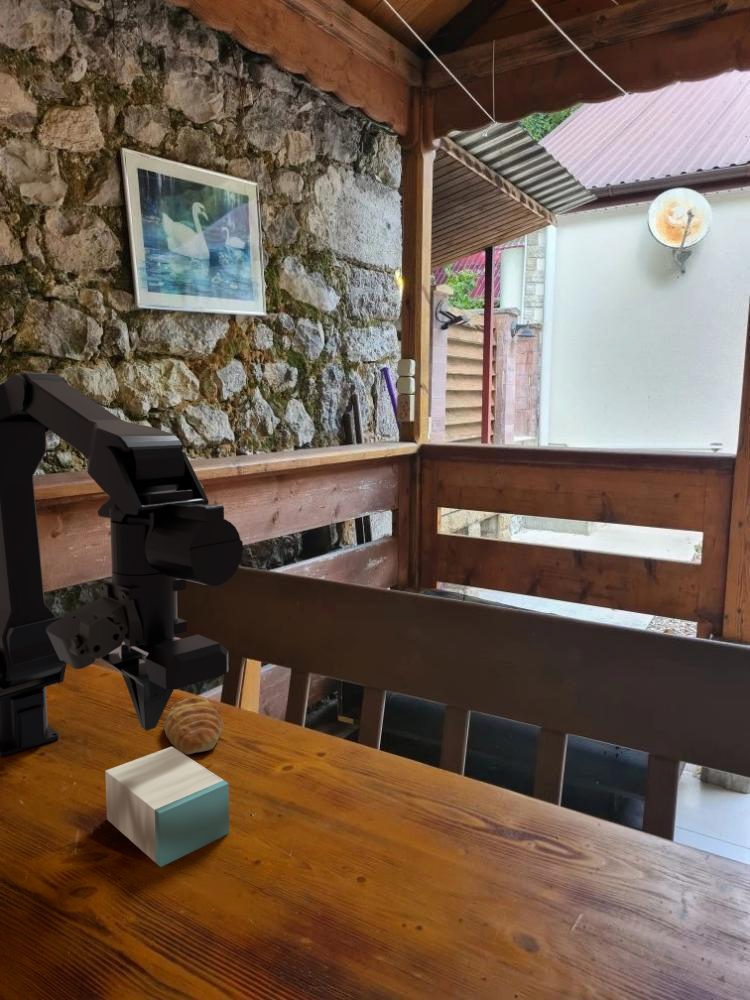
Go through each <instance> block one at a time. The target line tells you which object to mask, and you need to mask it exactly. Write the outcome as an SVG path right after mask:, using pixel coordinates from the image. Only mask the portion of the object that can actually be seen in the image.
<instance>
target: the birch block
mask: <svg viewBox="0 0 750 1000" xmlns="http://www.w3.org/2000/svg"><path fill="white" fill-rule="evenodd" d="M104 772H105V800H106V801H105V802H106V820H107V821H108V822H109V823H110V824H112V825H113V826H114V827H115V828H116V829H117V830H118V831H119V832H121V834H122V835H124V837H126V838H128V839H129V841H131V843H133V844H134V845H135V846H136V847H137V848H139V849H140V850H141V852H142V853H144V854H145V855H146V856H148V857H149V859H151V860H152V862H154V863H155V864H156V865H157V866H159V868H162V867H164V866H166V865H168V864H171V863H172V862H175V861H176V860H178V859H180V858H183V857H185V856H187V855H188V854H190V853H192V852H195V851H197V850H199V849H200V848H203V847H205V846H207V845H209V844H211V843H213V842H215V841H216V840H219V839H221V838H223V837H225V836H227V835H228V834H230V788H229V787H230V786H229V785H230V783H228V782H227V781H226V780H224V779H223V778H221V777H220V776H218V775H216V774H215V773H213V772H212V771H210V770H208V768H205V767H204V766H203V765H202V764H200V763H197V762H196V761H195V760H194V759H192V758H190V757H189V756H188V755H186V754H184V753H183V752H180V751H178V750H177V749H176V748H175V747H174V746H169V747H167V748H164V749H161V750H158V751H155V752H152V753H150V754H146V755H144V756H141V757H139V758H136V759H134V760H131V761H128V762H125V763H123V764H120V765H117V766H114V767H112V768H109V769H106V770H105V771H104Z"/></svg>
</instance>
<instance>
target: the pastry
mask: <svg viewBox="0 0 750 1000" xmlns="http://www.w3.org/2000/svg"><path fill="white" fill-rule="evenodd" d="M165 717H166V720H165V721H164V724H163V730H164V732H165V736H166V738H167V739H168V740H169V742H170V744H171V745H172V747H173V748H175V749H177V750H178V751H180V752H181V753H183V754H184V755H186V756H188V755H193V754H194V753H202V752H206V751H207V752H208V751H211V750H213V749H214V747H215V746H216V744H217V743H218V740H219V739H220V737H221V735H222V733H221V732H222V730H223V728H224V722H223V719H222V718H221V710H220V708H219V707H218V706H217V705H216V704H215V703H211V702H210V701H209V700H208V698H204V697H201V696H189V697H186V698H184V699H183V700H181V701H177V702H175V704H174V705H173V706H172V707H170V708H169V711H168V713H167V715H166V716H165Z"/></svg>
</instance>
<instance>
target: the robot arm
mask: <svg viewBox="0 0 750 1000" xmlns="http://www.w3.org/2000/svg"><path fill="white" fill-rule="evenodd" d="M51 432H52V433H53V434H54V435H56V436H57V437H58V438H60V439H61V440H63V441H64V442H65V443H66V444H68V445H69V446H71V447H72V448H73V449H75V450H76V451H77V452H79V453H80V454H81V455H82V456H83V457H85V459H86V460H87V471H86V472H87V474H88V475H89V476H90V478H91V479H93V481H94V482H95V483H96V485H98V487H100V489H101V490H102V491H103V492H104V493H105V495H107V496H108V497H109V499H108V500H107V501H106V502H105V503H103V504H102V505H101V506H99V507H100V508H98V510H97V515H98V516H99V517H100V518H106V519H109V522H110V524H109V526H110V527H109V528H110V550H111V552H110V553H111V555H110V556H111V557H110V559H111V578H106V579H105V578H104V579H103V580H102V582H103V583H102V584H100V597H99V598H97V599H96V600H93V601H91V602H89V603H86V604H84V605H82V606H80V607H78V608H76V609H75V610H72V611H70V612H69V613H67V614H66V615H64V616H57V615H56V614H55V612H53V611H52V609H51V608H50V607H49V605H47V603H46V602H45V601H46V599H45V593H44V592H45V591H44V590H45V589H44V580H43V570H42V560H41V551H40V550H41V547H40V539H39V536H40V535H39V527H38V517H37V516H38V515H37V507H36V506H37V505H36V498H35V497H36V496H35V495H36V493H35V485H34V475H35V474H36V471H37V470H38V468H39V466H40V464H41V462H42V460H43V458H44V456H45V455H46V452H47V435H50V433H51ZM204 490H205V487H204V486H203V483H202V482H201V481H200V480H199V479H198V476H197V474H196V472H195V470H194V468H193V465H192V464H191V461H190V460H189V458H188V456H187V453H186V452H185V450H184V445H183V444H182V442H181V440H180V439H179V438H178V437H177V435H175V434H173V433H171V432H169V431H165V430H162V429H159V428H156V427H154V426H149V425H144V424H138V423H133V422H128V421H126V420H123V419H121V418H120V417H119V416H116V415H115V414H114V413H112V412H111V411H109V410H108V409H106V408H104V407H103V406H102V405H100V404H98V403H97V402H96V401H94V400H92V399H91V398H90V397H88V396H86V395H85V394H83V393H82V392H80V391H79V390H78V389H76V388H74V386H71V385H70V384H69V383H68V380H67V379H66V378H65V377H64V376H60V375H58V374H57V373H51V372H50V373H49V372H48V373H47V372H31V371H30V372H28V371H20V372H18V373H14V374H12V375H10V376H9V377H8V378H7V379H6V380H5V381H4V382H3V383H0V756H3V757H5V756H8V755H11V754H14V753H18V752H21V751H24V750H26V749H29V748H34V747H37V746H39V745H43V744H45V743H49V742H52V741H56V740H58V739H60V733H59V732H58V731H57V730H55V729H54V728H53V727H51V725H49V724H48V708H47V707H48V704H47V687H49V686H52V685H57V684H58V685H59V684H62V683H64V679H65V674H66V669H67V664H69V666H71V668H73V669H74V670H82V669H85V668H87V667H89V666H91V665H92V664H94V663H95V662H96V659H99V660H100V659H101V660H102V661H103V662H105V663H106V664H107V665H109V666H110V667H112V668H113V669H114V670H116V671H117V672H119V673H120V674H121V675H122V677H123V680H124V682H125V685H126V688H127V690H128V693H129V696H130V699H131V702H132V704H133V707H134V709H135V713H136V716H137V719H138V721H139V724H140V727H141V728H142V729H143V730H145V731H150V730H153V729H155V728H156V727H157V726H158V723H159V721H160V719H161V718H162V716H163V713H164V711H165V708H166V707H167V705H168V702H169V700H170V698H171V696H172V694H173V692H174V690H178V689H181V688H184V687H188V686H191V685H195V684H197V683H201V682H205V681H207V680H211V679H214V678H217V677H220V676H223V675H227V674H228V673H229V650H228V649H227V648H226V647H225V646H224V645H222V644H221V643H220V642H218V641H215V640H212V639H210V638H208V637H205V636H203V635H201V634H195V635H192V636H187V637H183V638H180V637H176V636H175V635H178V634H182V633H186V632H188V625H187V623H188V622H187V620H185V619H182V618H180V617H178V591H183V590H186V589H187V582H193V583H196V584H200V585H204V586H209V587H217V586H221V585H224V584H226V583H227V582H228V581H229V580H230V579H232V577H233V576H234V575H235V574H236V573H237V571H238V569H239V566H240V565H241V562H242V558H243V551H244V545H243V544H244V543H243V540H242V539H241V537H240V533H239V531H238V529H237V527H236V526H234V524H233V523H232V522H231V521H229V520H227V519H225V507H224V505H223V504H217V503H210V504H209V499H208V496H207V495H206V492H205V491H204Z"/></svg>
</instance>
